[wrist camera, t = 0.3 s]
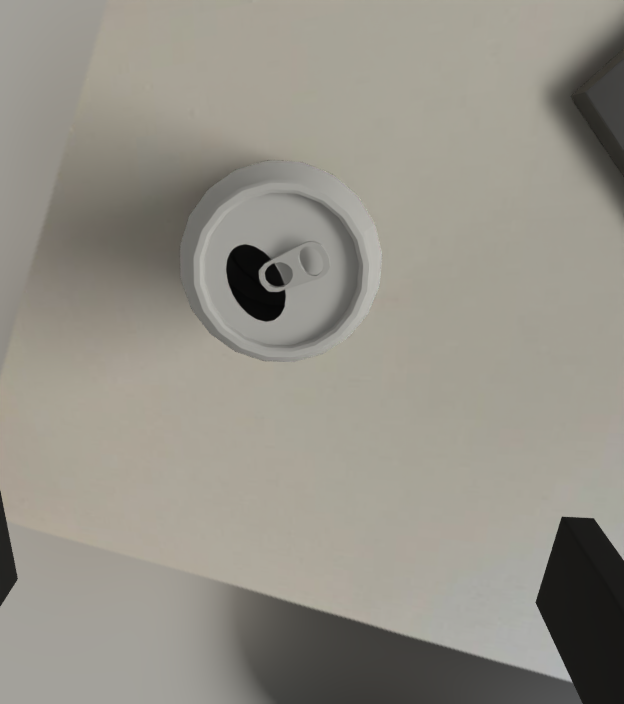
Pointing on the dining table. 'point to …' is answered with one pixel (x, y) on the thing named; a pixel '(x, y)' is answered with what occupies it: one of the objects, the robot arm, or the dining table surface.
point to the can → (280, 261)
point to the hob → (606, 107)
